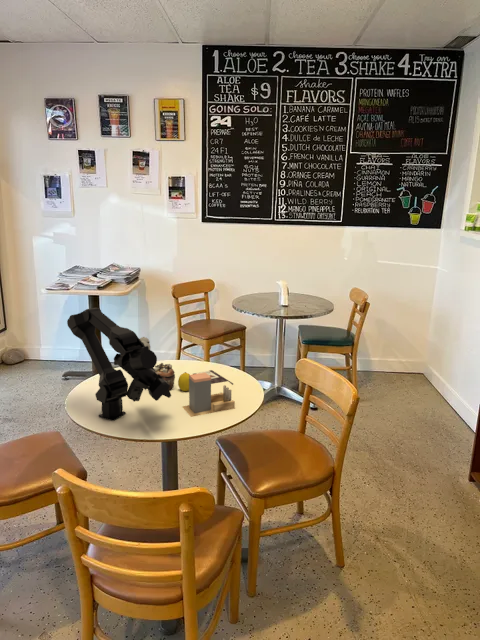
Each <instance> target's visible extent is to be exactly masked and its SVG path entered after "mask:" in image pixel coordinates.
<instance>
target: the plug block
mask: <svg viewBox="0 0 480 640" xmlns="http://www.w3.org/2000/svg"><path fill="white" fill-rule="evenodd" d="M198 373H199V372H198ZM211 395H212V384H211V377H210V376H209V375H208V374H207V373H199V374H194V373H192V374H190V375H189V391H188V398H189V400H188V402H189V408H190V409H191V410H192V411H193V412H194V413H199V412H204V411H210V410H211Z"/></svg>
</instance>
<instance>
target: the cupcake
mask: <svg viewBox="0 0 480 640" xmlns="http://www.w3.org/2000/svg"><path fill="white" fill-rule="evenodd" d="M153 368H154V369H155V372H156V373H157V374H159V375H160V376H161V377H162V378H163V379H164V380H165V381H166V382H167V383H168V384H169V385H170V387H169V388H168V389H169V391H172V390H173V388H174V384H175V379H176V376H175V375H176V374H175V370H174V369H173V365H172V364H171V363H165V364H164V363H163V362H161V363H159V364H156V365H155V366H154V367H153Z"/></svg>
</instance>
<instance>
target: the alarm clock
mask: <svg viewBox="0 0 480 640" xmlns="http://www.w3.org/2000/svg"><path fill="white" fill-rule="evenodd" d="M139 339H140V340H141V342H142V343H143V344H144V346H148V348H149V350H151V344H150V340H149V338H147V337H145V336H142V337H139Z"/></svg>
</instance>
